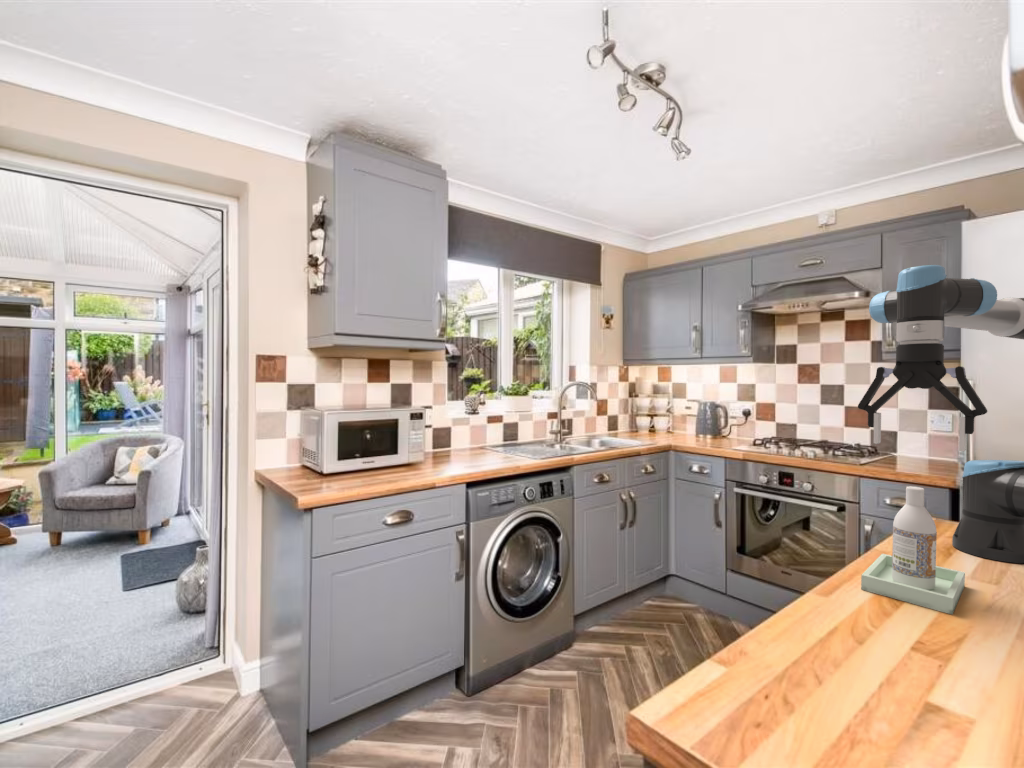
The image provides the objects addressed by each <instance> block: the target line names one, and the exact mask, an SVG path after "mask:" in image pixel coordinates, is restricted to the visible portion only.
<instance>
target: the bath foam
mask: <svg viewBox="0 0 1024 768" xmlns="http://www.w3.org/2000/svg"><path fill="white" fill-rule="evenodd" d="M905 487H906V488H905V504H904V505H903V506H902V507H901V508H900V509H899V510H898V512H897V513H896V514H895V516H894V518H893V523H892V555H891V556H892V579H893V580H894V581H895V582H898V583H901V584H905V585H909V586H913V587H917V588H921V589H925V590H931V589H934V588H935V577H936V566H937V538H938V537H937V535H938V532H937V526H936V523H935V520H934V519H933V516H932V515H931V514H930V512H929V511H928V510H927V508H926V507H925V488H923V487H920V486H910V485H909V486H905Z"/></svg>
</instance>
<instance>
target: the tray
mask: <svg viewBox="0 0 1024 768" xmlns="http://www.w3.org/2000/svg"><path fill="white" fill-rule="evenodd" d="M965 576H966V572H965V571H961V570H956V569H951V568H949V567H943V566H938V565H936V577H935V588H934V589H931V590H925V589H921V588H917V587H913V586H909V585H905V584H901V583H898V582H895V581H894V580H893V579H892V555H891V554H886V553H881V554H880V555H879V556H878V557H877V558H876V559H875V560H874V562H873V563H871V564H870V566H868V567H867V569H866V570H865V571H864V572H863V573H862V574H861V577H860V578H861V581H860V582H861V584H860V589H861V590H862V591H866V592H869V593H872V594H873V593H874V594H877V595H880V596H883V597H887V598H891V599H896V600H898V601H901V602H905V603H908V604H909V603H910V604H913V605H916V606H921V607H924V608H927V609H931V610H935V611H938V612H941V613H944V614H945V613H946V614H947V615H948V614H949V615H952V616H953V615H954V612H955V610H956V608H957V605H958V603H959V600H960V598H961V596H962V594H963V592H964V588H965V581H966V579H965V578H966V577H965Z"/></svg>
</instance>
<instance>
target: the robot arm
mask: <svg viewBox="0 0 1024 768" xmlns="http://www.w3.org/2000/svg"><path fill="white" fill-rule="evenodd" d="M868 311H869V314H870V317H871V318H872V320H874V321H875V322H876V323H879V324H893V323H896V334H895V335H896V337H895V338H896V339H895V340H896V342H897V343H899V344H897V346H895V366H894V367H893V368H892V367H891V368H890V367H889V368H888V367H884V366H879V367H877V368H876V373H875V378H874V379H873V381H872V382H871V383H870V385H869V386H868V388H867V390H866V391H865V393H864V395H863V397H862V398H861V399H860V401H859V403H858V404H857V408H858V409H859V410H862V411H865V412H867V425H868V428H873V442H872V443H873V444H875V445H877V444H878V445H879V444H881V441H882V412H877V411H878V410H880V409H881V408H882V406H884V405H885V404H886V403H887V402H888V401H889V400H890V399H892V398H893V397H894V396H895V395H896V394H898V392H900V390H902V389H903V388H907V389H917V388H918V389H923V390H928V389H929V390H930V389H932V388H934V389H935V390H937V391H938V393H940V394H941V395H942V396H943V397H944V398H946V400H947V401H948V402H950V403H951V404H952V405H953V406H954V407H955V408H956V409H957V410H959V412H961V414H963V416H960V417H959V424H958V426H959V430H958V433H959V434H958V452H965V451H967V435H972V434H973V433H974V432H975V418H976V417H978V416H983V415H986V414H988V408H986V405H985V404H984V403H983V401H982V400H981V399H980V397H979V395H978V393H977V392H976V390H975V389H974V388H973V386H972V384H971V383H970V381H969V380H968V378H967V375H966V373H967V372H966V368H965V367H964V366H961V365H960V366H956V367H949V368H946V367H945V363H944V361H945V360H944V358H945V346H944V344H943V343H941V342H943V341H944V340H945V327H948V328H958V329H967V330H975V331H976V330H977V331H983V332H984V331H986V332H987V331H988V333H990V334H992V335H993V336H996V337H1003V338H1004V337H1005V338H1008V339H1009V338H1010V339H1011V338H1012V339H1015V340H1016V339H1017V340H1018V339H1019V340H1024V297H1011V296H1010V297H1005V298H1000V299H998V290H997V289H996V287H995V285H994V284H993V283H992V282H990V281H987V280H983V279H978V278H974V277H973V278H953V277H952V278H950V277H949V278H948V277H947V274H946V269H945V267H944V266H943V265H939V264H929V265H928V264H927V265H918V266H912V267H907V268H904V269H902V270H901V271H900V272H899V273H898V276H897V284H896V289H890V290H887V291H884V292H879V293H877V294H875V295H874V296H873V297H872V298H871V300H870V302H869V309H868ZM892 374H893V375H894V377H895V378H896V380H897V381H896V382H895V383H893V385H892V386H891V387H890V388H889V389H888V390H887V391H885V392H884V393H883V394H882V395H881V396H880V397H879V398H878V399H877V400H876V401H874V402H873V403H871V402H872V400H873V398H874V396H876V394H877V392H878V390H879V389H880V387H882V384H883V383H884V381H885V380H886V379H887V378H889V377H890V375H892ZM947 374H948V375H950V377H951V378H952V379H956V380H957V383H958V385H959V386H960V388H961V389H962V391H963V392H964V394H965V395H966V396H967V398H968V400H969V401H970V403H971V404H972V406H973V407H974V409H971V408H970V407H969V406H968V405H967V404H966V403H965V402H964V401H962V399H960V398H959V397H958V396H957V395H956V394H955V393H954V392H953V391H952V390H951V389H950V388H949V387H947V385H945V383H943V382H942V381H941V380H942V379H943V378H944V377H945V376H946V375H947ZM885 378H886V379H885ZM870 403H871V405H870ZM961 477H962V505H961V506H962V511H961V512H962V514H961V519H960V520H959V522H958V524H957V527H956V528H955V530H954V533H953V535H952V538H951V539H952V541H951V542H952V543H951V544H952V546H953V548H955V549H957V550H959V551H961V552H963V553H966V554H969V555H973V556H976V557H980V558H985V559H989V560H993V561H998V562H1006V563H1014V564H1024V460H1013V459H1012V460H1011V459H1010V460H1009V459H974V460H971V459H970V460H969V461H966V462H965V463H964V466H963V473H962V476H961Z"/></svg>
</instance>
